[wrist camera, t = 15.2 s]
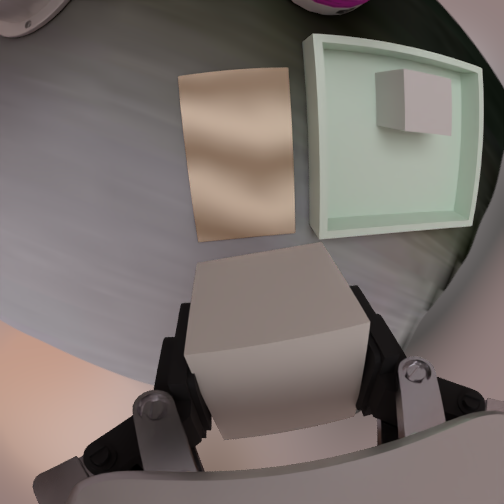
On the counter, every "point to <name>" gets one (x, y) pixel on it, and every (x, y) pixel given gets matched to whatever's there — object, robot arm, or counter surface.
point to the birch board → (239, 152)
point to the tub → (386, 143)
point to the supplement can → (329, 6)
